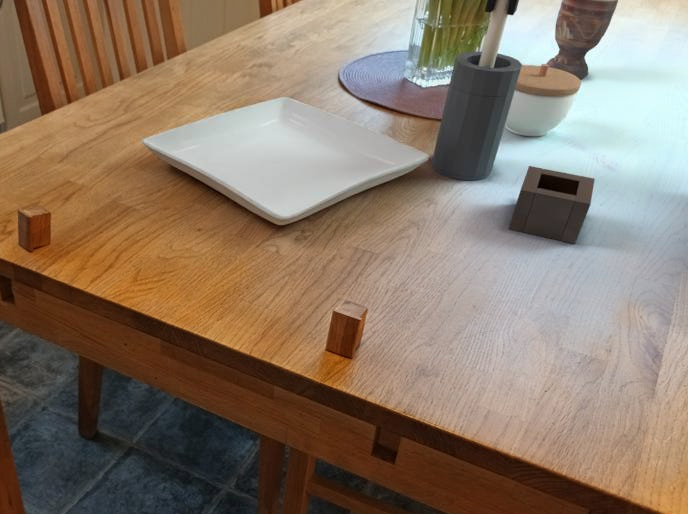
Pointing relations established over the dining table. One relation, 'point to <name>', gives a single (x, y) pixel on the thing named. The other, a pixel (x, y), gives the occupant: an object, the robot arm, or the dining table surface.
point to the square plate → (284, 157)
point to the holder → (552, 204)
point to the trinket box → (541, 100)
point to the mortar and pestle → (580, 32)
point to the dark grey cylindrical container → (474, 116)
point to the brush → (494, 33)
